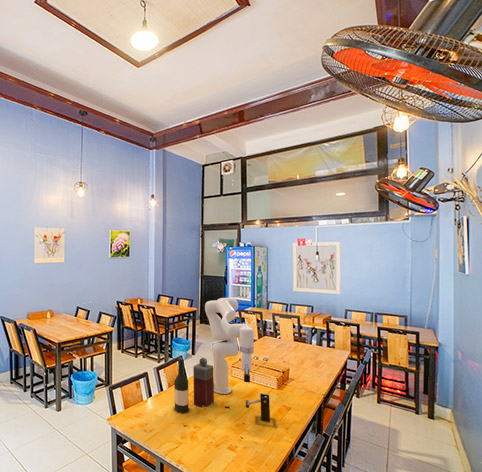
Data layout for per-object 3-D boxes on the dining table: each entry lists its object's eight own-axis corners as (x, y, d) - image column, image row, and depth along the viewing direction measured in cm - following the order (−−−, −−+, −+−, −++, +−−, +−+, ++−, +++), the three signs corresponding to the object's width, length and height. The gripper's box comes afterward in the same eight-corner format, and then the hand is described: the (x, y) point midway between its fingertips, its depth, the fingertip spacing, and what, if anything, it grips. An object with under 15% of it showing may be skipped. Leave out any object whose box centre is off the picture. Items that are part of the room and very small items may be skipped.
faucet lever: (246, 409, 172) (244, 404, 173) (246, 404, 178) (245, 399, 179) (268, 403, 169) (266, 398, 169) (268, 398, 174) (266, 394, 175)
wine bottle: (173, 406, 189) (172, 356, 190) (186, 405, 190) (185, 355, 191) (176, 413, 181) (175, 360, 182) (190, 412, 181) (189, 360, 183)
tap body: (256, 423, 169) (256, 397, 170) (256, 416, 177) (255, 391, 178) (274, 426, 166) (274, 400, 167) (273, 419, 174) (273, 394, 174)
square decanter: (216, 402, 193) (215, 357, 194) (206, 409, 185) (205, 361, 186) (203, 398, 199) (202, 353, 201) (193, 404, 191) (193, 358, 193)
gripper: (240, 344, 187) (240, 375, 186) (239, 352, 173) (239, 386, 172) (253, 346, 184) (254, 377, 183) (253, 354, 170) (254, 388, 169)
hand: (247, 381), depth 178 cm, fingers closed
